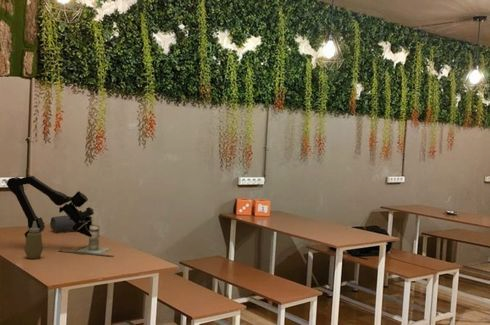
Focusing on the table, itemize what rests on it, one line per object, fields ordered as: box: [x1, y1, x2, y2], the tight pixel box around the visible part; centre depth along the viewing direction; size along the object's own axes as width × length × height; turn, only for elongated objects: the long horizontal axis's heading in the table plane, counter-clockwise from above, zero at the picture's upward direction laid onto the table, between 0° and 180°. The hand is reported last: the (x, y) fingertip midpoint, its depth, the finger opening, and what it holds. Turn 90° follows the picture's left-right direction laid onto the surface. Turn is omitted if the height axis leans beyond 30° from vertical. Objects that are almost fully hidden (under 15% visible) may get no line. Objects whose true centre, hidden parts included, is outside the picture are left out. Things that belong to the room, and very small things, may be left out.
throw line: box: [58, 250, 115, 258], centre depth 268 cm, size 30×2×1 cm, turn 80°
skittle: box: [88, 224, 100, 251], centre depth 276 cm, size 5×5×13 cm
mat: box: [75, 245, 111, 254], centre depth 277 cm, size 13×13×1 cm
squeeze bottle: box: [24, 221, 44, 260], centre depth 255 cm, size 8×8×18 cm
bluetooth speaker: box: [49, 214, 92, 233], centre depth 325 cm, size 23×9×10 cm, turn 133°
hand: (93, 234), depth 276 cm, fingers open, 9 cm apart
